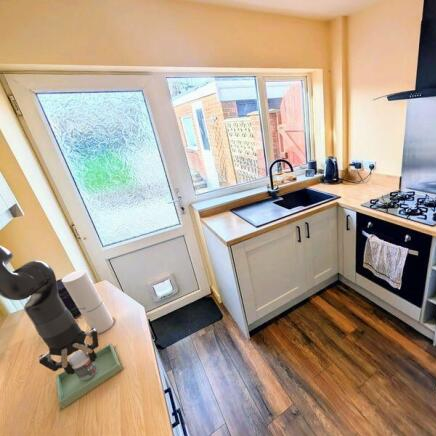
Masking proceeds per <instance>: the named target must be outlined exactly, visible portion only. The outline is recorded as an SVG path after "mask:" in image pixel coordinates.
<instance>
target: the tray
mask: <svg viewBox="0 0 436 436" xmlns="http://www.w3.org/2000/svg"><path fill="white" fill-rule="evenodd" d="M95 353H96V356H97V358H96V359H95V360H96V361H94V363H95V365H96V366H97V371H96V373H95V374H94V375H93V376H92V377H91V378H89V379H87V380H84V381H81V380H80V379H79V378H78V376H77V375H76V373H74V374H72V375H71V374H67V373H66V371H65V370H64V369H63V371H61V372H59V373H58V374H56V375H55V382H56V383H55V384H56V392H57V393H56V394H57V402H58V405H59V406H60V408H62V409H64V408H66V407H67V406H69V405H71V404H72V403H73V402H75V401H77V400H79V398H81V397H83V396H84V395H86V394H88V393H89V392H90V391H92V390H93V389H95V388H97V387H98V386H100V385H101V384H103V383H104V382H106V381H107V380H109V379H110V378H111V377H113V376H115V375H116V374H118V373H119V372H121V371H122V370H123V368H122V366H121V363H120V360H119V357H118V355H117V352H116V350H115V348H114V346H113V344H112V343H109V344H107V345H105V346H104V347H102V348H100V349H99V350H97V351H95Z"/></svg>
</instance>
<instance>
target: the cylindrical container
mask: <svg viewBox="0 0 436 436" xmlns="http://www.w3.org/2000/svg"><path fill="white" fill-rule="evenodd" d="M61 279H62V282H63V284H64V286H65V287H66V289H67V291H68V292H69V294H70V296H71V297H72V299H73V301H74V302H75V304H76V306H77V307H78V309H79V311H80V312H81V316H82V317H83V319H84V321H85V322H86V324H87V325H88V327H89V329H90V330H91V329H92V328H96V330H97V335H98V334H101V333H104V332H106V331H107V330H109V329H110V328H111V327H112V326H113V325H114V320H113V318H112V315H111V314H110V312H109V310H108V308H107V305H105V303H104V301H103V299H102V297H101V295H100V293H99V292H98V290H97V288H96V286H95V283H94V282H93V280H92V279H91V277H90V275H89V273H88V271H87V270H86V269H79V270H74V271H72V272H70V273H67V274H66V275H65V276H63V277H62V278H61Z"/></svg>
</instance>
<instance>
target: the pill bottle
mask: <svg viewBox="0 0 436 436" xmlns="http://www.w3.org/2000/svg"><path fill="white" fill-rule="evenodd" d="M68 361H69V362H70V364H71V367H72V369H73V370H74V372H75V373H76V375H77V376H78V378H79V379H80V380H81V381H84V380H87V379H89V378H91V377H92V376H93V375H94V374H95V373H96V371H97V366H96V365H95V363H94V362H93V361H92V360H91V358H90V357H89V355H88V353H87V352H85V351H81V350H78V351H75V352H73V353H72V354H71V356H70V357H69V358H68Z"/></svg>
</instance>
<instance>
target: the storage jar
mask: <svg viewBox="0 0 436 436" xmlns="http://www.w3.org/2000/svg"><path fill="white" fill-rule="evenodd" d="M62 279H63V278H60V279H56V281H57V287H58V294H59V297H60V298H61V300H62V302H63V303H64V305H65V307H66V308H67V309H68V310H69V311H70V313H71V314H72V316H73V317H74V319H75V318H78V317H79V316H82V314H81V312H80V311H79V309H78V307H77V306H76V304H75V302H74V301H73V299H72V297H71V296H70V294H69V292H68V291H67V289H66V287H65V286H64V284H63V282H62Z"/></svg>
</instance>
